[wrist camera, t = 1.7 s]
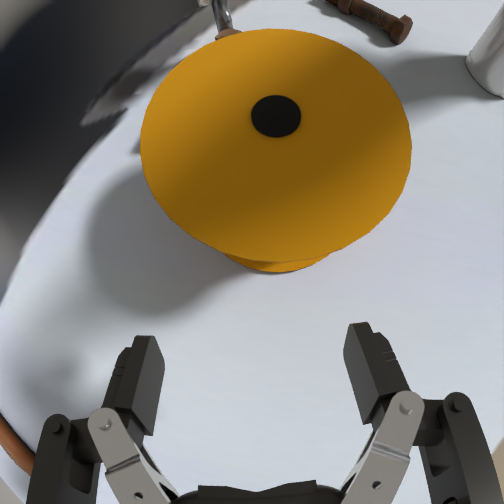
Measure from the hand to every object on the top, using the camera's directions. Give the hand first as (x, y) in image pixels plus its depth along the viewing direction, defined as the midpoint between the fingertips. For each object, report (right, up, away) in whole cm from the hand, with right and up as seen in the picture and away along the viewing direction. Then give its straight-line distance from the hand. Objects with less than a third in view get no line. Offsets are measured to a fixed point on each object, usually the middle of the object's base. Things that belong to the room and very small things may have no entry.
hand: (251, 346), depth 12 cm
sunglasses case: (-42, -32, +20) cm, 57 cm away
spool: (+3, +11, +20) cm, 23 cm away
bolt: (+18, +42, +23) cm, 51 cm away
